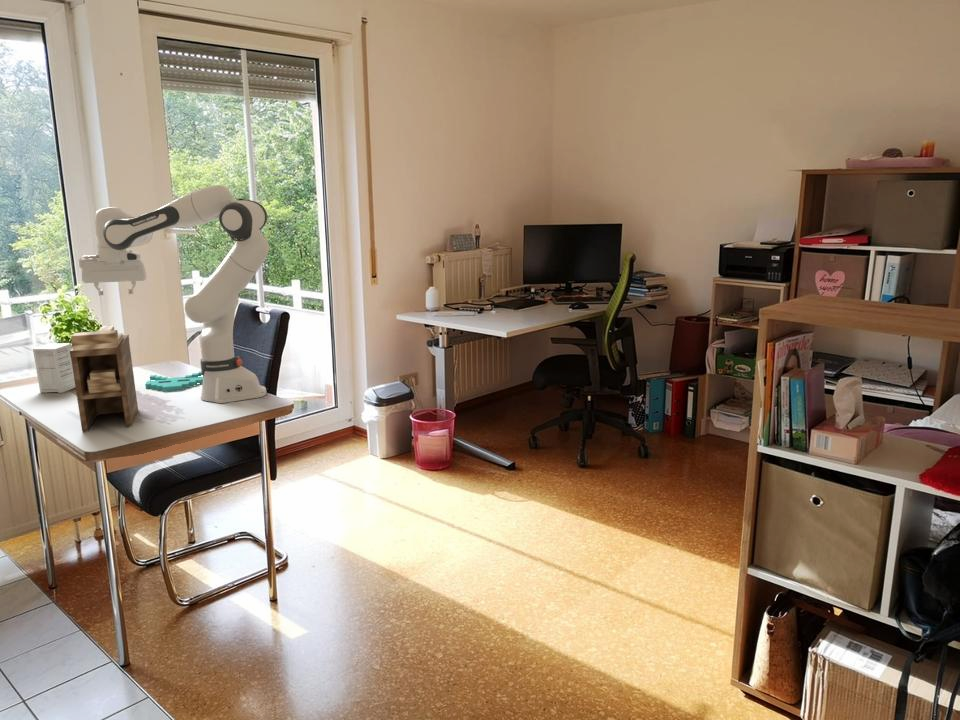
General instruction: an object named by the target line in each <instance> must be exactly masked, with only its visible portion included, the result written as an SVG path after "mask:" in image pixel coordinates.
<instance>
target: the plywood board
mask: <svg viewBox="0 0 960 720" xmlns="http://www.w3.org/2000/svg"><path fill="white" fill-rule="evenodd" d="M123 335H124V334H123V332H122V333H121V332H120V333H118V329H115V326H114V325H103V326H101V327H100V328H99V330H96V331H81V332H74V333H73V334H71V336H70V337H71V345H72V348H73V351H76V350H89V349H102V348H115V347H118V345H119V343H120V342H121V340H122V339H123Z"/></svg>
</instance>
